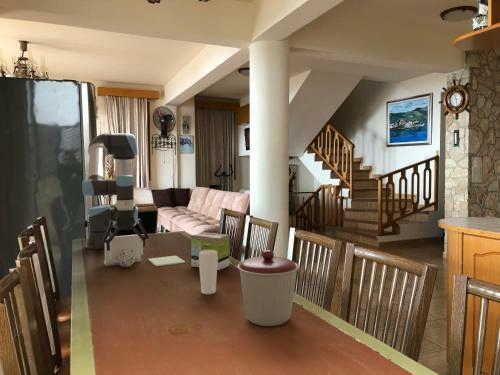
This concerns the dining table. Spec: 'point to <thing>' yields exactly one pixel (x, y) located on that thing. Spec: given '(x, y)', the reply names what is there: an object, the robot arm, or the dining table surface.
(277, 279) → the canister
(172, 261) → the tile
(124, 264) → the game die
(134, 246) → the screen
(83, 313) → the dining table surface
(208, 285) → the drinking glass
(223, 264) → the tea box
